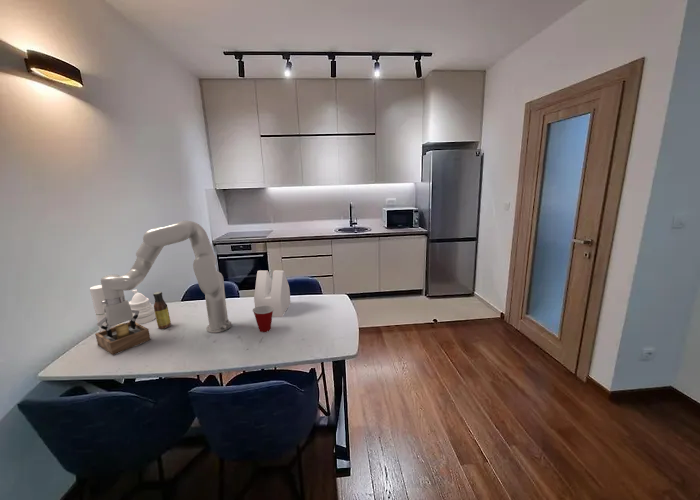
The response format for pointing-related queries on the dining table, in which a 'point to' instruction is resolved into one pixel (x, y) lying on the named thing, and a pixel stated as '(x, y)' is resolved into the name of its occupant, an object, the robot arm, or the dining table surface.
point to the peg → (122, 330)
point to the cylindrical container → (98, 304)
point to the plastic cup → (263, 317)
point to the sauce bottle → (161, 311)
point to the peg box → (123, 339)
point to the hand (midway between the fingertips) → (122, 332)
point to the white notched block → (272, 291)
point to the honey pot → (142, 308)
